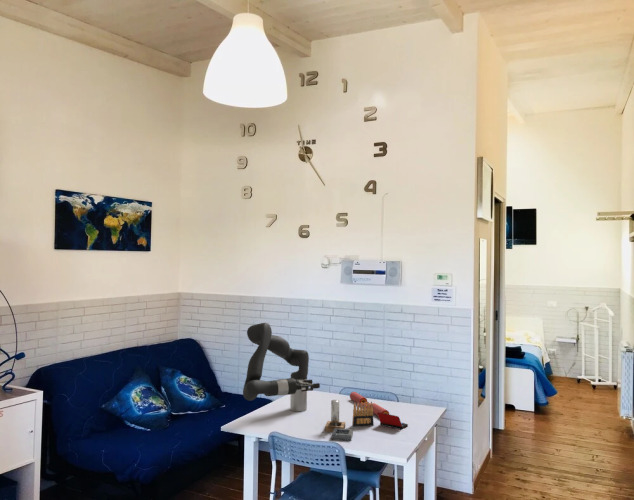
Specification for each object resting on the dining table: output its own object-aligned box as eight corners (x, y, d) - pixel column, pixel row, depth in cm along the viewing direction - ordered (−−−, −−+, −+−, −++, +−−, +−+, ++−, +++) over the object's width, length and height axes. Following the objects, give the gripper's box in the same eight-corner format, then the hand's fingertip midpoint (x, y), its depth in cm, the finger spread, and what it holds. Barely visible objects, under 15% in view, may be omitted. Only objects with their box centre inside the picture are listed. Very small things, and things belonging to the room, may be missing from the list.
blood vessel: (389, 419, 287) (389, 409, 287) (381, 420, 285) (381, 410, 285) (357, 399, 326) (357, 391, 327) (349, 400, 325) (349, 392, 325)
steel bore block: (334, 433, 261) (334, 428, 261) (352, 434, 260) (353, 429, 260) (331, 439, 252) (331, 434, 252) (350, 440, 251) (351, 435, 251)
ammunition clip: (353, 426, 272) (353, 402, 272) (352, 425, 274) (352, 401, 274) (373, 425, 274) (373, 401, 275) (372, 424, 276) (372, 400, 276)
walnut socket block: (327, 425, 273) (327, 420, 273) (345, 427, 271) (345, 422, 271) (324, 431, 264) (324, 426, 264) (343, 432, 262) (343, 427, 262)
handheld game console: (408, 426, 274) (408, 411, 274) (398, 431, 266) (398, 416, 266) (387, 421, 282) (387, 407, 282) (376, 426, 273) (376, 412, 273)
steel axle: (331, 427, 270) (331, 399, 270) (339, 428, 269) (339, 400, 269) (330, 430, 266) (330, 401, 266) (338, 430, 265) (338, 402, 265)
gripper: (290, 382, 250) (322, 378, 257) (279, 375, 263) (309, 373, 270) (290, 398, 250) (322, 394, 257) (279, 391, 263) (309, 388, 270)
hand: (315, 383), depth 263 cm, fingers open, 8 cm apart
